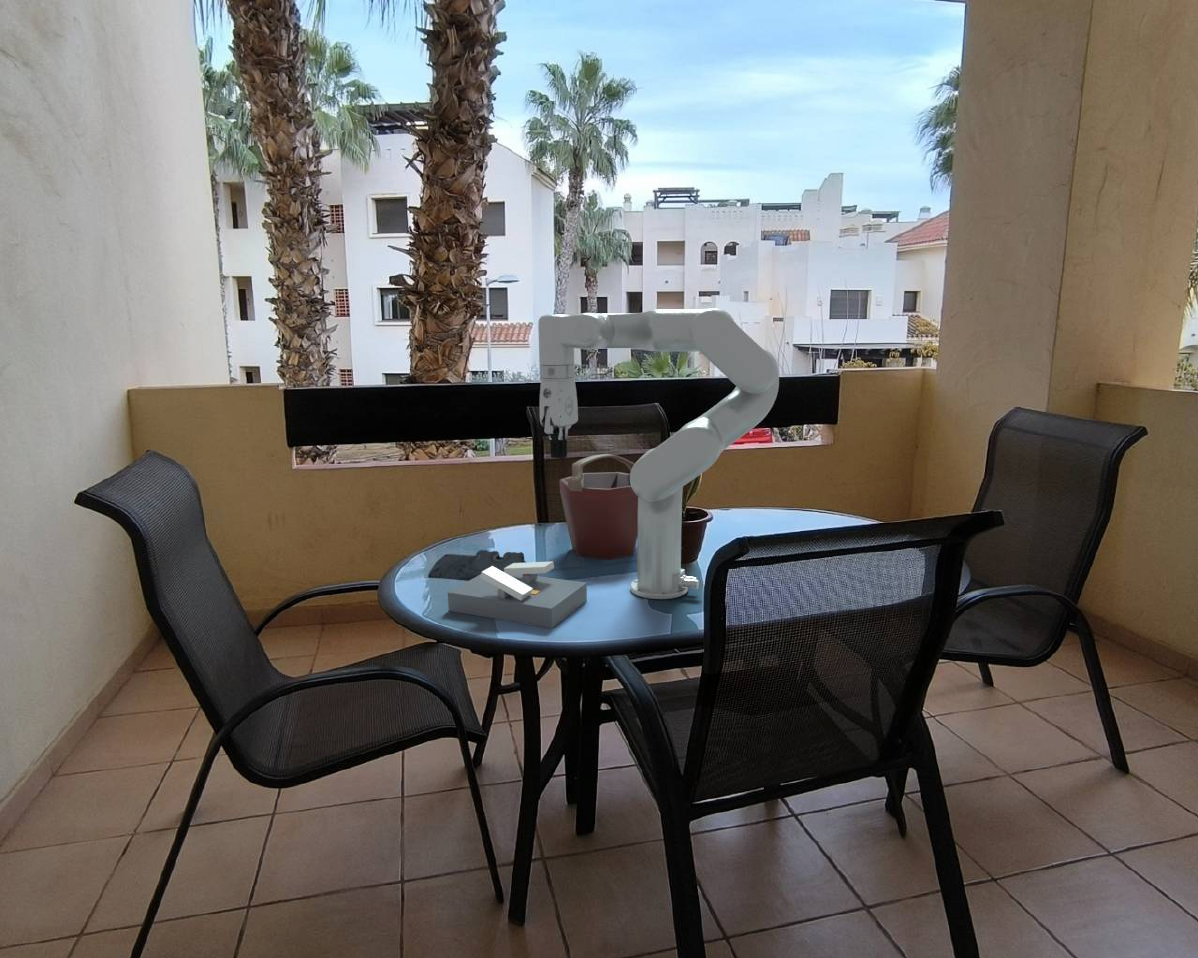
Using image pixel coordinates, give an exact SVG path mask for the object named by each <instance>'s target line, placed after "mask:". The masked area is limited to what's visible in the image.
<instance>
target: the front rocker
mask: <svg viewBox="0 0 1198 958" xmlns="http://www.w3.org/2000/svg"><path fill="white" fill-rule="evenodd" d="M480 578H482V579H483V580H485V581H487V582H489V583H490V584H492V585H494V586H496V587H498V588H499V589H501V590H503V591H505V592H506V593H508V594H510V595H512V596H514V597H515V598H517V599H519V600H523V599H524V598H526V597H527V596H529V595H530V594H531V592H532V589H533V588H531V587H529V586H528V585H526V584H524V583H522V582H520V581H519V580H517V579H515V578H513V577H511V576H510V575H508V574H506V573H504V572H502V571H501V570H499V569H497V568H495V567H493V566H491V567H490V568H488V569H486V570H484V571H482V573H481V576H480Z"/></svg>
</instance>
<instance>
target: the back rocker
mask: <svg viewBox="0 0 1198 958" xmlns="http://www.w3.org/2000/svg"><path fill="white" fill-rule="evenodd" d="M554 563H555V562H554V561H533V562H532V561H531V562H526V563H513V564H511V565H509V566H507V567H506V568H504V572H505V573H506V574H508V575H513V574H537V575H539V574H540V575H542V574H547V573H548V572H551V571H552V570H553V569H554V568H555V564H554Z"/></svg>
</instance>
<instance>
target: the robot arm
mask: <svg viewBox="0 0 1198 958" xmlns="http://www.w3.org/2000/svg"><path fill="white" fill-rule="evenodd" d="M537 324H538V327H537V328H538V329H537V330H538V361H539V363H538V364H539V365H538V366H539V381H540V388H539V389H540V390H539V422H540V425H541V426H542V427H544V433H545V434H547V435H548V438H549V441H550V457H551V458H553V459H564V458H567V457H568V442H567V439H568V434H569V429H571V427H572V425H574V424H576V423H577V422H579V414H578V413H579V408H578V395H577V387H576V381H575V379H576V378H575V376H576V375H575V349H580V350H587V351H589V350H596V349H642V350H645V351H649V352H659V353H661V352H663V353H664V352H667V353H668V352H678V353H679V352H682V353H683V352H685V353H686V352H700V353H701V354H702V355H704V357H706V359H707V360H708V361H709V362H711V364H712V365H713V366H714V367H716V369H718V370H719V371H720V372H721V373H722V374H723V375H724V376H725V377H726V378H727V379H728V380H729V381H730V382H731V383H733V384H734V385H735V387H734V389H733V390H732V392H731V393H729V394H728V395H727V396H725V397H724V398H722V399H721V400H720V401H718V403H717V404H715V405H713V407H711V408H710V409H709V410H707V411H706V412H704V413H702V414H701V415H700V416H698V417H697V418H695V419H693V420H691V421H689V422H688V423H685V424H684V425H683V426H681V428H680V429H679V430H678V431H676V432H674V433H673V434H672V435H671V436H669V437H668V438H667V439H666V440H664V441H663V442H662V443H660V444H659V445H657V446H656V447H654V448H651V449H649V450H646V452H645V453H644V454H642V456H641V457H639V458H638V460H637V461H636V462H635V463H634V466H633V467H632V470H631V471H630V473H629V474H630V484H631V487H632V490H633V491H634V493H635V494H636V495H637V496H638V521H637V541H636V547H637V550H636V551H637V552H636V553H637V556H636V557H637V561H636V562H637V570H636V571H637V578H636V579H634V580H632V581H631V582H630V586H629V587H630V588H629V589H630V591H631V593H632V594H634V595H636V596H638V597H641V598H645V599H651V600H670V599H676V598H680V597H682V596H684V595H686V594H687V592H688V591H689V589H695V590H698V589H699V586H700V580H699V579H698V578H697V577H695V576H687V574H685V572H686V571H685V569H684V568H682V566H681V565H682V563H681V562H682V518H683V517H682V513H683V511H682V510H683V503H682V502H683V489H684V486H686V485H688V484H689V483H690V482H692V481H693V480H694V479H696V478H697V477H699V476H700V475H702V474H703V473H705V472H706V471H707V470H708V469H709V468H711V467H712V466H713V465H714V464H715V463H716V461H717V460H718V459H719V457H720V455H721V453H722V452H724V451H725V450H726V449H727V448H728V447H730V446H731V445H733V444H734V443H736V441H739V440H740V438H742V437H743V436H744V435H746V434H747V433H749V432H750V431H751V430H753V429H754V428H755V427H756V426H757V425H759V423H761V422H762V421H763V420H764V418H766V417H767V415H768V413H770V411H771V409H772V408H773V406H774V404H775V401H776V400H777V396H778V392H779V387H780V374H779V373H780V372H779V365H778V362H777V359H776V358H775V356H774V355H773V353H771V352H770V351H769V350H767V349H765V348H762V346H760V344H758V343H757V342H756V341H755V340H753V339H752V337H750V335H749V334H747V333H746V331H744V330H743V329H742V328H741V327H740V325H738V324H737V323H736V322H735V321H734V318H733V317H732V315H731V314H730V313H729V312H727V311H726V310H724V309H720V308H715V307H713V308H700V309H699V308H696V309H695V308H694V309H693V308H692V309H691V308H690V309H689V308H688V309H686V308H685V309H683V308H681V309H652V310H647V311H644V312H635V313H633V312H632V313H597V312H584V313H577V314H571V315H570V314H544V315H542V316H541V315H540V317H539V319H538V323H537Z"/></svg>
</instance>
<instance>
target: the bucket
mask: <svg viewBox="0 0 1198 958" xmlns="http://www.w3.org/2000/svg"><path fill="white" fill-rule="evenodd" d="M606 458H611V459H614V460H617V461H619V462H621V463H623V464H625V465H626V467H627V468H628V469H629V471H630V472H631V470H632V467H633V466H634V464H635V463H634V462H633V461H630V460H628V459H627V458H624V457H622V456H619V455H615V454H610V453H609V454H608V453H605V454H603V453H602V454H596V455H595V454H594V455H590V456H587V457H584V458H581V459H578V460H577V461H575V462H573V463H572V464H571V476H568V477H564V478H561V479H559V494H560V498H561V503H562V507H563V511H564V516H565V517H564V518H565V522H566V526H567V531H568V536H569V540H570V541H569V542H570V545H571V549H572V550H573V551H574V552H575V553H576V554H577V555H578V556H579V557H580V558H589V559H598V560H613V559H617V558H618V559H619V558H623V557H629V556H633V555H634V553H635V549H636V547H637V521H638V496H637V495H636V494H635V493H634V491H633V490H632V487H631V484H630V473H626V472H620V471H615V472H612V471H611V472H584V467H585V466H586V465H588V464H590V463H593V462H594V461H597V460H600V459H606ZM635 546H636V547H635Z"/></svg>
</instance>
